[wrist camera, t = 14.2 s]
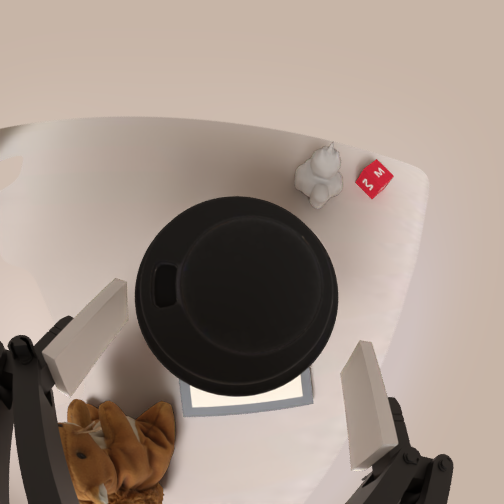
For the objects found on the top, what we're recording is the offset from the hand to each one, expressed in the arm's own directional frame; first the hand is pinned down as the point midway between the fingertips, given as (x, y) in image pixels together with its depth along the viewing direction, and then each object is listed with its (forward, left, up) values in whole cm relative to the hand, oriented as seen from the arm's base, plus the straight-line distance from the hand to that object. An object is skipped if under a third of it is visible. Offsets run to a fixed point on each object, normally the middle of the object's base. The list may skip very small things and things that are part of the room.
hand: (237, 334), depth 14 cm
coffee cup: (-2, 0, -11) cm, 11 cm away
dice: (-17, +18, -12) cm, 28 cm away
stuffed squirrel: (+12, -12, -12) cm, 20 cm away
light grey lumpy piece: (-16, +10, -12) cm, 22 cm away
